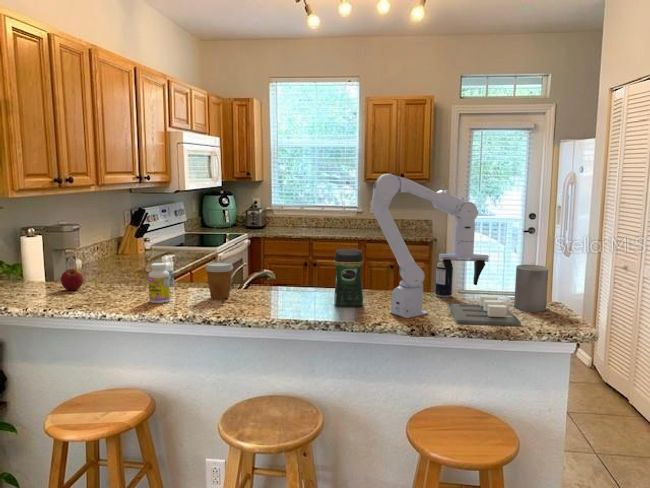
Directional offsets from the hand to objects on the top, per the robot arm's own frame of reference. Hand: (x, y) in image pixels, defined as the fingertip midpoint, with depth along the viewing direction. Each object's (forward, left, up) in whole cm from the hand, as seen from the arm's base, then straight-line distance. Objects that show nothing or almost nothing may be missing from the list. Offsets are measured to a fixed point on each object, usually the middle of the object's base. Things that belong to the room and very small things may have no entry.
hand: (462, 284), depth 152 cm
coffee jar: (-23, +28, -10) cm, 37 cm away
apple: (-96, +100, -10) cm, 139 cm away
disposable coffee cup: (-55, +60, -10) cm, 82 cm away
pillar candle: (+24, -8, -10) cm, 27 cm away
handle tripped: (+4, -10, -8) cm, 14 cm away
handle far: (+12, -1, -8) cm, 14 cm away
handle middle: (+8, -6, -8) cm, 13 cm away
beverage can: (+13, +19, -10) cm, 25 cm away
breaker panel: (+4, -5, -9) cm, 11 cm away
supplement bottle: (-74, +66, -10) cm, 100 cm away
